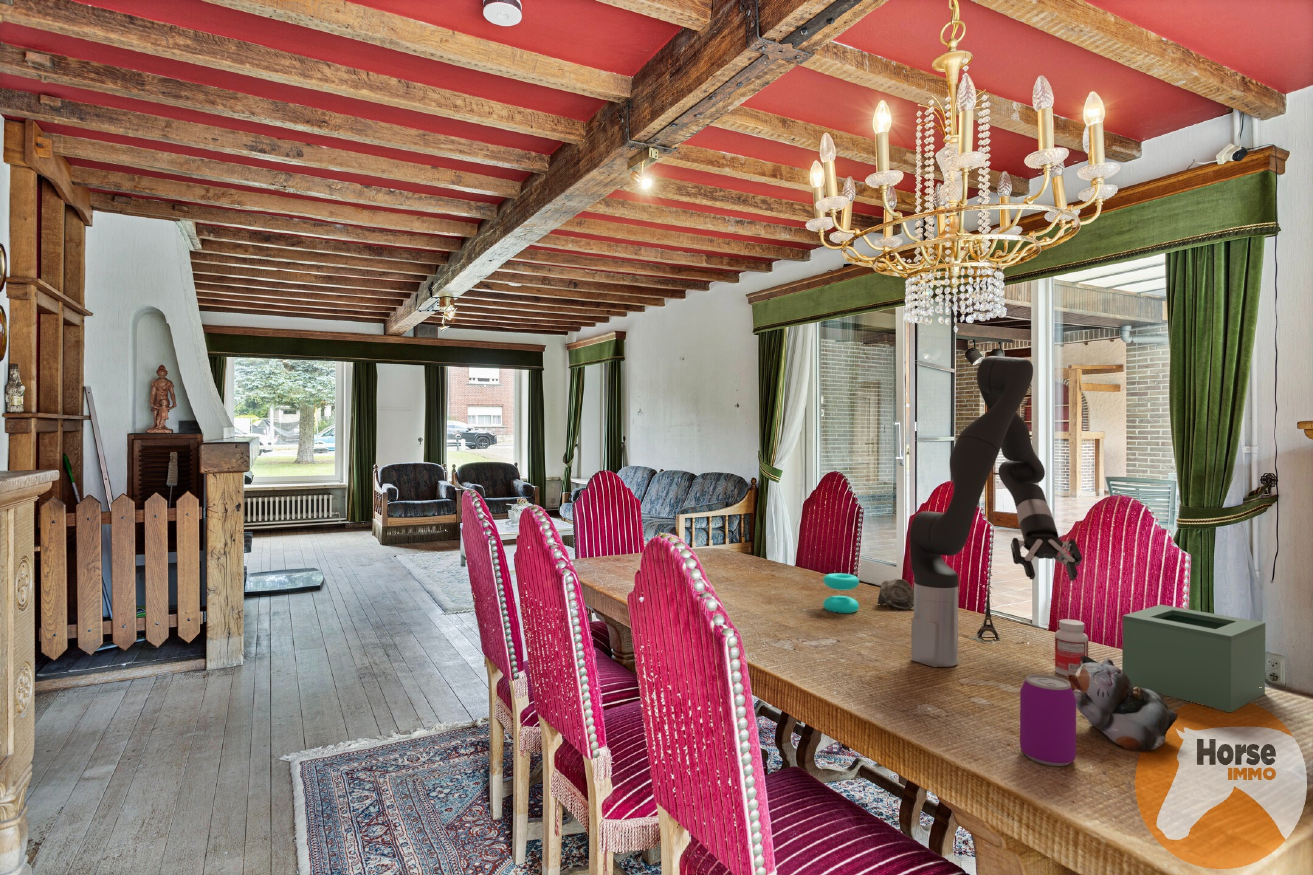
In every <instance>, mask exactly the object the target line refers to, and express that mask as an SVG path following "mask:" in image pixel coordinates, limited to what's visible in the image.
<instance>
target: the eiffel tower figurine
mask: <svg viewBox="0 0 1313 875" xmlns="http://www.w3.org/2000/svg"><path fill="white" fill-rule="evenodd" d="M989 587H990V586H987V588H988V590H987V596H986V597H987V599H986V610H985V615H984V620H983V623H981V627H980V628H979V630H978V631H977V632H976V633H977V634H976V636H969V637H968V638H969V639H972V640H974V641H978V642H980V643H983V642H990V644H989V645H994V644H1003V645H1005V644H1004V643H1005V642H1003V643H992V642H996V641H1000V642H1001V638H1000V635H999V633H998V631H997V630H996V628H995V624H993V619H992V618H993V617H992V616H993V615H992V613H991V601H990V600H991V599H990V593H991V592H990V588H989ZM988 621H989V623H987V622H988ZM986 632H990V633H992V634H990V633H986ZM961 634H962V633H960V636H962V635H961ZM982 635H983V636H984V635H995V637H982ZM998 636H999V637H998ZM983 638H996V640H984V639H983ZM1016 643H1017V644H1018V642H1016ZM1017 644H1016V645H1017ZM985 645H988V644H987V643H986V644H985Z"/></svg>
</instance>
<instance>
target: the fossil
mask: <svg viewBox="0 0 1313 875" xmlns="http://www.w3.org/2000/svg"><path fill="white" fill-rule="evenodd" d="M878 604H880V605H879V606H883V605H884V604H886V605H887V606H888V607H889V608H891V609H893V610H896V611H897V610H898V611H909V610H911V609H913V608H914V587H912V586H911V585H910V583H909V582H908V581H907V580H905V579H903V578H895V579H890V580H883V582H881V585H880V588H879V594H878V599H877V605H878Z"/></svg>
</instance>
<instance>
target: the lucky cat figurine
mask: <svg viewBox="0 0 1313 875" xmlns="http://www.w3.org/2000/svg"><path fill="white" fill-rule="evenodd" d="M1080 658H1081V661H1080V664H1079V668H1078V670H1077V672H1076V674H1075V675H1072V674H1068V675H1067V676H1066V680H1067V681H1068V682H1070V684H1071V688H1072V690H1073V693H1074V695H1075V698H1076V710H1078V711H1079V712H1080V713H1081V715H1082V716H1083V717H1084V718H1085V719H1086V720H1087V721H1088V725H1089V726H1093V727H1095V728H1096V729H1097V730H1099V731H1100V732H1102V733H1103V734H1104V735H1106V736H1107V737H1108V738H1109V740H1111V741H1112V742H1113V743H1115V744H1116V745H1117V746H1119V747H1121V748H1122V749H1124V750H1129V751H1135V752H1137V751H1138V752H1144V753H1147V752H1149V751H1151V750H1156V749H1157V748H1159V747H1161V746H1162V745H1163V744H1164V743H1165V741H1166V735H1167V733H1168V731H1169V730H1170V729H1171V727H1172V726H1173V725H1174V723H1175V722H1176V721H1177V718H1178V716H1179V715H1178V712H1176V711H1174V710H1171V708H1169V706H1168V704H1167V702H1166V701H1165V700H1164V698H1163V697H1162V696H1161V695H1160V694H1157V693H1156V692H1154V691H1152V690H1149V689H1146V688H1140V687H1139V686H1138V687H1135V686H1133V685H1132V684H1131V681H1130V679H1129V678H1128V677H1127V675H1126V674H1125V673H1124V672H1123V671H1122V668H1119V667H1117V666H1115V663H1114V662H1113V660H1112V659H1110V658H1104V659H1103V660H1102V661H1101V662H1098V661H1096V660H1094V659H1093V658H1091V657H1089V655H1088V656H1084V655H1082V656H1081V657H1080Z"/></svg>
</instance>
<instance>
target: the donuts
mask: <svg viewBox="0 0 1313 875" xmlns="http://www.w3.org/2000/svg"><path fill="white" fill-rule="evenodd" d="M823 583H824V585H825V586H827V587H828V588H830V589H833V590H838V591H839V590H841V591H848V590H849V591H850V590H853V589H855V588H857V587H858V586H859V584H860V580H859V578H858V577H857V576H856V575H853V574H851V573H844V572H843V573H841V572H839V573H837V572H836V573H828V574H826V575H824V576H823ZM822 605H823V608H824V609H825V610H826V611H828V610H829V611H828V612H831V611H833V612H832V613H836V612H838V613H837V614H852V612H853V613H855V612H857V611H858V610H859V609H860V608H859V607H860V605H859V602H858V601H857V600H856V599H855V598H854V597H850V596H846V595H845V596H844V595H832V596H829V597H826V598H825V599H824V600H823V602H822Z"/></svg>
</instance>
